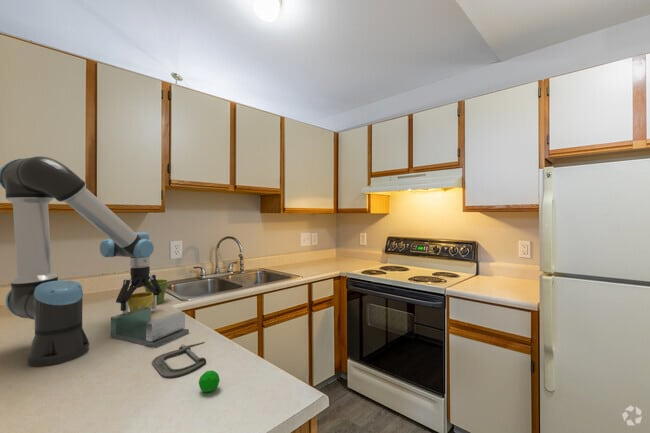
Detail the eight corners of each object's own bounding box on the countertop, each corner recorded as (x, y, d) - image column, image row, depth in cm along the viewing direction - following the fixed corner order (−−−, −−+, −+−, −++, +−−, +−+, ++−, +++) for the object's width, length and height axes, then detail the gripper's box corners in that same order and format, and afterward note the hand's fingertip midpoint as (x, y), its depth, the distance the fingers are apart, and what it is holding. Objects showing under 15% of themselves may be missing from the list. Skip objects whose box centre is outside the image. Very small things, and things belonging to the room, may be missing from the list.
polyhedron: (197, 389, 78) (196, 370, 78) (216, 383, 81) (216, 365, 81) (201, 398, 74) (201, 379, 74) (221, 392, 77) (221, 373, 77)
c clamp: (148, 357, 97) (148, 349, 97) (204, 344, 108) (204, 336, 108) (159, 385, 81) (159, 375, 81) (223, 365, 92) (223, 356, 92)
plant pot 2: (139, 306, 152) (139, 284, 152) (147, 300, 163) (147, 279, 163) (164, 305, 154) (164, 283, 154) (171, 299, 166) (171, 278, 166)
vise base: (156, 347, 104) (156, 325, 104) (110, 337, 113) (110, 317, 113) (188, 333, 116) (188, 313, 116) (145, 325, 126) (145, 307, 126)
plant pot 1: (140, 320, 131) (140, 298, 131) (120, 319, 133) (120, 297, 133) (158, 313, 141) (158, 292, 141) (139, 312, 143) (139, 291, 143)
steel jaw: (152, 341, 104) (151, 324, 104) (145, 340, 105) (145, 323, 106) (184, 327, 117) (184, 312, 117) (179, 326, 118) (179, 311, 118)
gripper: (117, 271, 124) (117, 323, 124) (169, 263, 147) (169, 306, 147) (105, 270, 127) (106, 320, 127) (158, 262, 150) (158, 304, 150)
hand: (140, 313), depth 137 cm, fingers open, 13 cm apart
